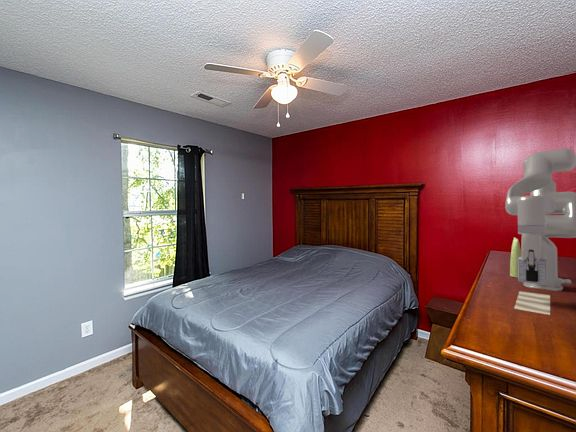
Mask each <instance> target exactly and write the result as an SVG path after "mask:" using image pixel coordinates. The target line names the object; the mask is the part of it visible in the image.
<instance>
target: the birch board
mask: <svg viewBox="0 0 576 432" xmlns="http://www.w3.org/2000/svg"><path fill="white" fill-rule="evenodd" d="M513 309H514V310H518V311H525V312H530V313H531V312H532V313H535V314H536V313H537V314H542V315H549V316H551V295H550V294H544V293H536V292H528V291H522V290H520V291H518V295H517V297H516V301H515V305H514V307H513Z"/></svg>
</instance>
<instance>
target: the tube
mask: <svg viewBox="0 0 576 432" xmlns="http://www.w3.org/2000/svg"><path fill="white" fill-rule="evenodd" d="M520 245H521V244H520V241H519V239H518V238H516V237H513V240H512V244H511V251H510V252H511V253H510V259H509V260H510V261H509V265H510V266H509V276H510V277H513V278H517V279H518V258H519V257H521V246H520Z"/></svg>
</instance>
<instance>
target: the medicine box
mask: <svg viewBox="0 0 576 432" xmlns="http://www.w3.org/2000/svg"><path fill="white" fill-rule="evenodd" d="M528 261H529V260H528ZM534 262H536V261H535V260H534ZM526 270H527V259H526V260H523V261H522V260H521V257H519V258H518V278H517V279H518V280H517V281H518V282H520V283H524V282H526V283H535V284H544V285H548V271H547V259H540V261H539V262H537V271H538V282H532V281H527V280H526Z"/></svg>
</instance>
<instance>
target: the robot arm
mask: <svg viewBox="0 0 576 432" xmlns="http://www.w3.org/2000/svg"><path fill="white" fill-rule="evenodd" d="M575 168H576V152H575V151H574V150H573V149H570V148H559V149H558V148H557V149H551V150H550V149H549V150H542V151H538V152H534V153H532V154H530V155H529V156H527V157H526V158H525V159H523V160H522V170H523V173H524V174H523V177H522V178H520V179H519V180H517V181H516V182H515V183H514V184H512V185H511V186H510V187H509V188H508V191H507V193H506V199H505V205H504V206H505V211H506V213H508V214H509V215H510V216H517V234H518V235H521V240H520V241H521V244H520V245H521V246H520V250H521V260H522V261H523V260H526V259H527V270H526V280H527V281H532V282H538V271H537V262H539V261H540V259H547V271H548V285H544V284H535V283H526V282H523V286H524V287H526V288H530V289H540V290H545V291H556V292H561V291H563V289H564V286H562V285H563V284H564V285H565V284H566V285H571V284H572V280H571V279H564V278H561V277H558V248H557V246H556V245H555V243H554V242H553V241H552V240H551V239H549V238H562V239H564V238H565V239H573V238H574V239H575V238H576V192H574V191H557V183H556V182H555V181H554V180H553V178H552V177H553V173H558V172H559V173H561V172H568V171H569V172H570V171H573V170H574V169H575ZM525 194H529V195H525ZM528 260H529V261H528ZM534 260H535V261H536V262H534Z"/></svg>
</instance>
